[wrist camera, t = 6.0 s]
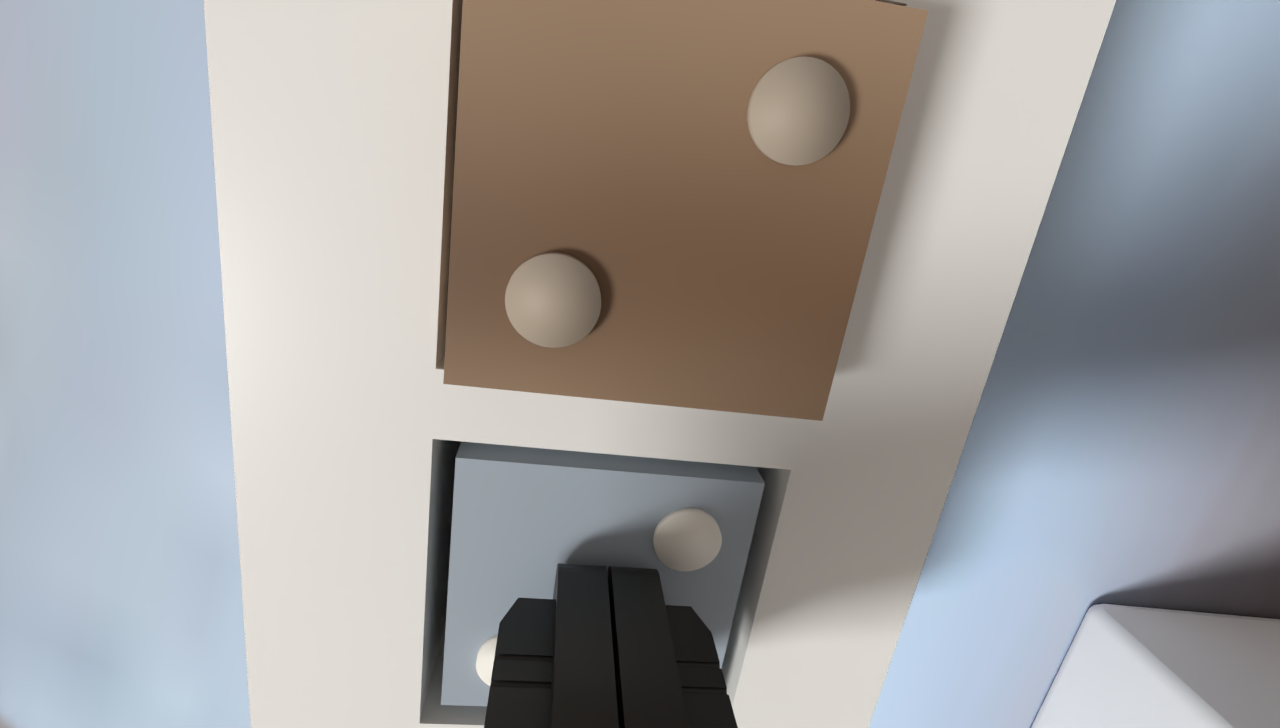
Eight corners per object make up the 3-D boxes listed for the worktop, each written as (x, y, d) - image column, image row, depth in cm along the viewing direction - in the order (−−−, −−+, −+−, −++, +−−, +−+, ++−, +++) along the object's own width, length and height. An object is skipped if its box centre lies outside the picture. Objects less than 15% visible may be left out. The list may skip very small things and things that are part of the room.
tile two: (497, -19, 8) (464, -83, 6) (833, 42, 9) (936, 8, 6) (475, 320, 10) (440, 389, 7) (764, 353, 10) (826, 426, 8)
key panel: (331, -697, 8) (110, -1446, 4) (1072, -465, 9) (1413, -870, 5) (338, 596, 14) (253, 766, 10) (783, 620, 15) (850, 778, 12)
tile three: (480, 388, 11) (453, 463, 9) (727, 413, 12) (768, 488, 9) (465, 597, 13) (439, 712, 10) (686, 610, 13) (712, 721, 11)
